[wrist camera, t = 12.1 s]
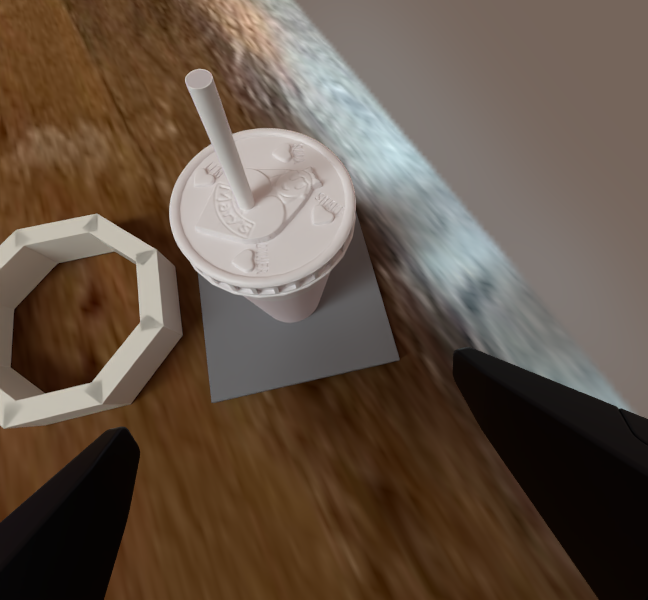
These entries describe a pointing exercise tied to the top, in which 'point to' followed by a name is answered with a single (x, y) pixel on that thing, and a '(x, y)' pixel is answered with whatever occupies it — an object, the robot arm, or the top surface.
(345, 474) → the top surface
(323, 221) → the smoothie
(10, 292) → the ring holder
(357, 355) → the mat
